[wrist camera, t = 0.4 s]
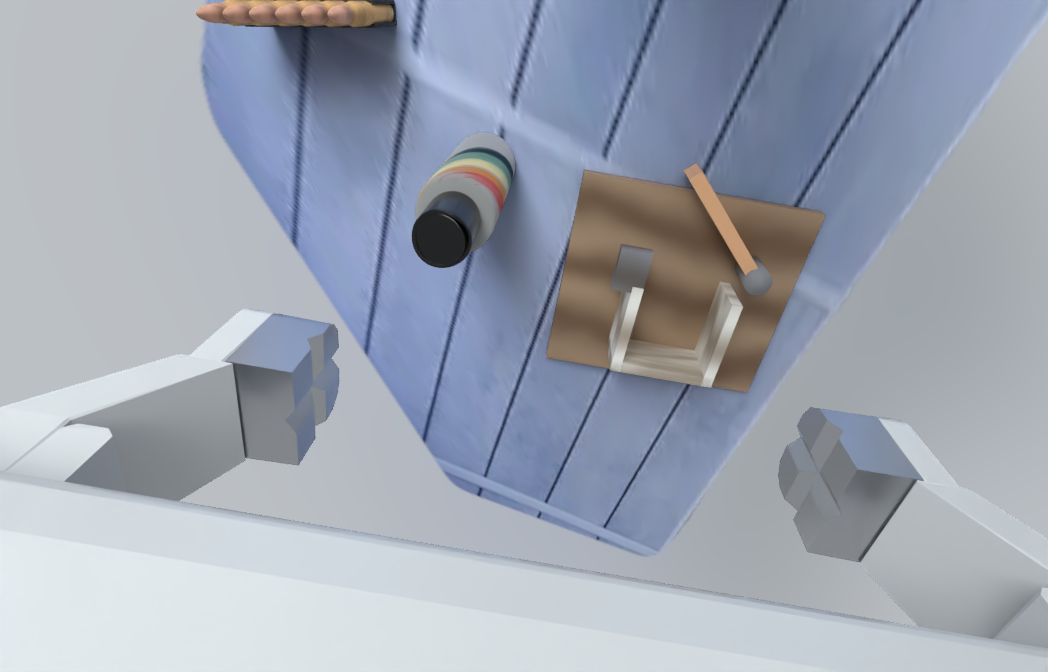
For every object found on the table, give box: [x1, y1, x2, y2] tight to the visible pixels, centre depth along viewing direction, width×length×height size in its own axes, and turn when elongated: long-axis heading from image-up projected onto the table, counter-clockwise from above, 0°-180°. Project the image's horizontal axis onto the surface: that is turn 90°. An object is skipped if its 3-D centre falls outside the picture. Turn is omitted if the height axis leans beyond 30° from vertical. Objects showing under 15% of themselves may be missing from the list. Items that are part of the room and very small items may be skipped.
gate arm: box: [684, 163, 773, 295], centre depth 50 cm, size 13×2×4 cm, turn 36°
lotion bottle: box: [412, 132, 515, 268], centre depth 43 cm, size 6×6×20 cm
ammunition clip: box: [196, 0, 397, 28], centre depth 41 cm, size 11×2×12 cm, turn 90°
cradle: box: [546, 170, 826, 392], centre depth 54 cm, size 20×22×6 cm
